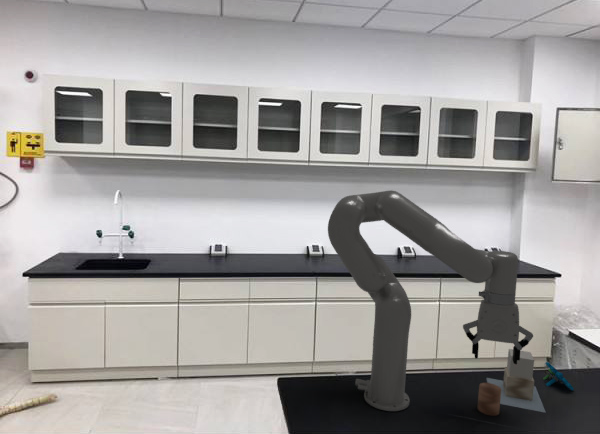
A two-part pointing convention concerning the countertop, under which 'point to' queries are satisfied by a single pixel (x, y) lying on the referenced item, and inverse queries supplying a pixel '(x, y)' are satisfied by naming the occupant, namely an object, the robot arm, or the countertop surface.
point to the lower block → (518, 387)
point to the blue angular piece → (556, 376)
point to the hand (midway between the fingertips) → (495, 359)
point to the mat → (517, 402)
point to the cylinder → (489, 399)
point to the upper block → (521, 365)
